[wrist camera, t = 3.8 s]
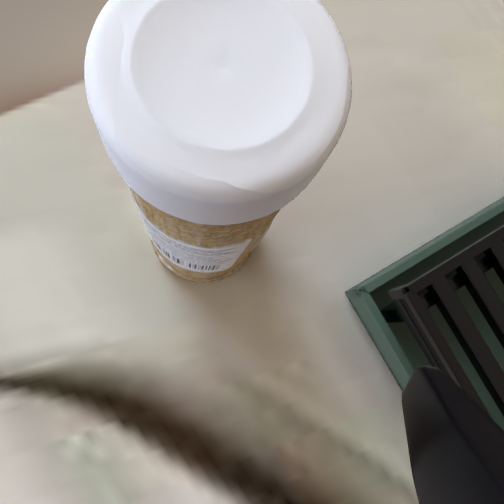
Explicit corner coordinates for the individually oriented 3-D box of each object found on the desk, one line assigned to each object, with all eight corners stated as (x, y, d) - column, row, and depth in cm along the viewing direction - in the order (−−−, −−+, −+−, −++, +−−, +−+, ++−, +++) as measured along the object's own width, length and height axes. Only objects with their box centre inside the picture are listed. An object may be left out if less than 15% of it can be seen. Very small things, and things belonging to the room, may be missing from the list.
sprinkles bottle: (273, 227, 21) (412, 59, 8) (208, 305, 20) (245, 260, 7) (195, 161, 21) (206, -111, 8) (126, 237, 20) (12, 67, 7)
